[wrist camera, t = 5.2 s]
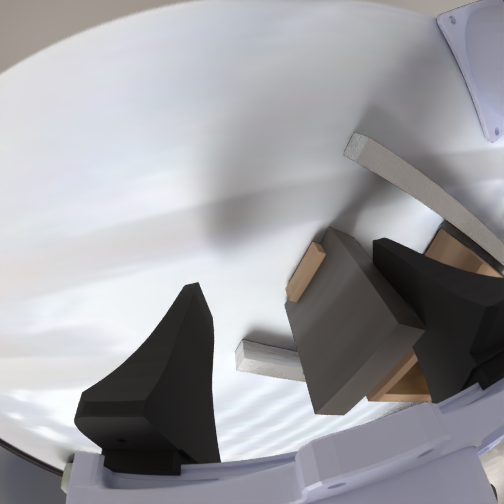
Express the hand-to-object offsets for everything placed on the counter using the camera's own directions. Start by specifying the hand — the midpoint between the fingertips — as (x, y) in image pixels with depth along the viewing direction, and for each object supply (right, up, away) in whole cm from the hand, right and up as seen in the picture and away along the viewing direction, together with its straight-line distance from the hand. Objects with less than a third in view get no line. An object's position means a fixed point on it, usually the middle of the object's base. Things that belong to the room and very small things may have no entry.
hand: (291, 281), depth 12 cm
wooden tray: (+9, -2, +5) cm, 10 cm away
